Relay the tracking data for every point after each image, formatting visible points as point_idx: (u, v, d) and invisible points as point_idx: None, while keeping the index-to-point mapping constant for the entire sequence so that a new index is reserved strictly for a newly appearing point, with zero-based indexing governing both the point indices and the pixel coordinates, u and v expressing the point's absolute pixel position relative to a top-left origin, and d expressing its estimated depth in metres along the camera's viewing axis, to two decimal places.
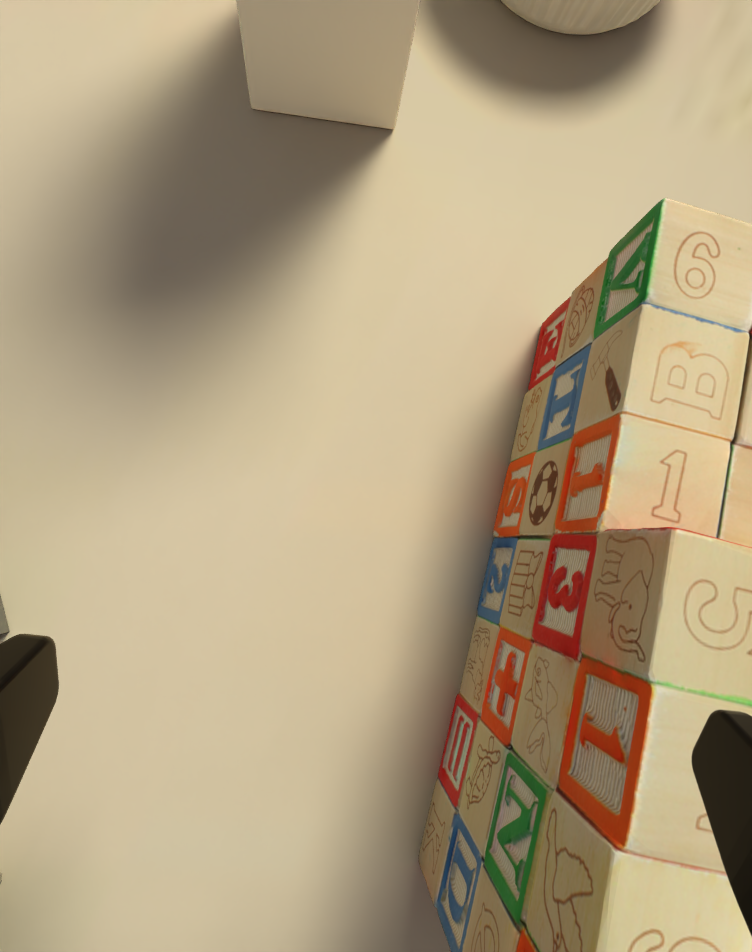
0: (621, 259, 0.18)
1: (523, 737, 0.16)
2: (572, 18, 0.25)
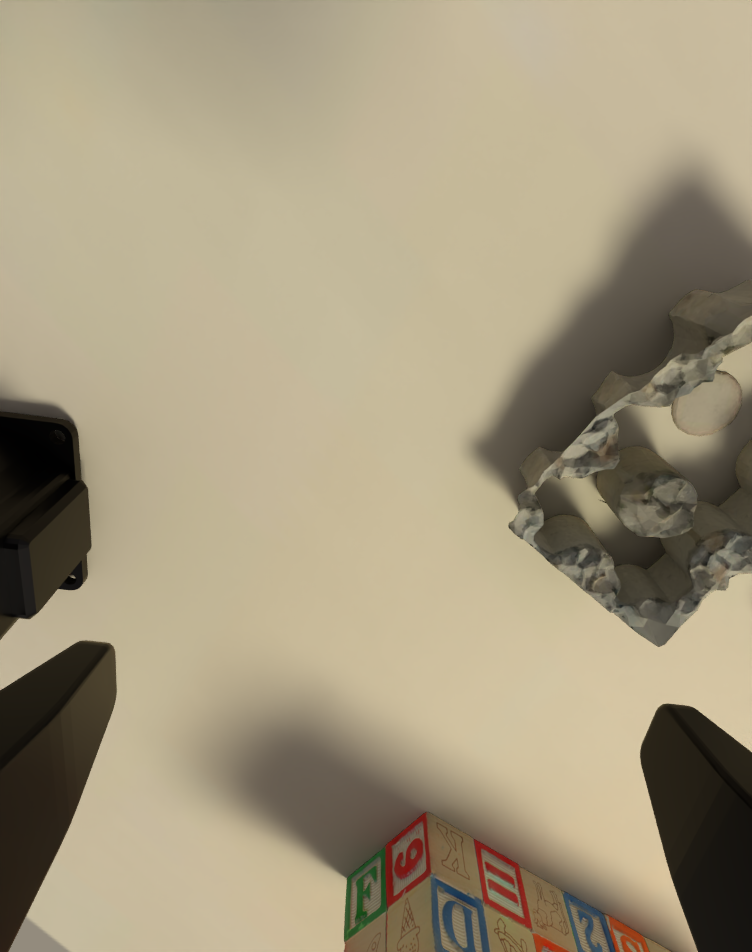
0: None
1: None
2: None
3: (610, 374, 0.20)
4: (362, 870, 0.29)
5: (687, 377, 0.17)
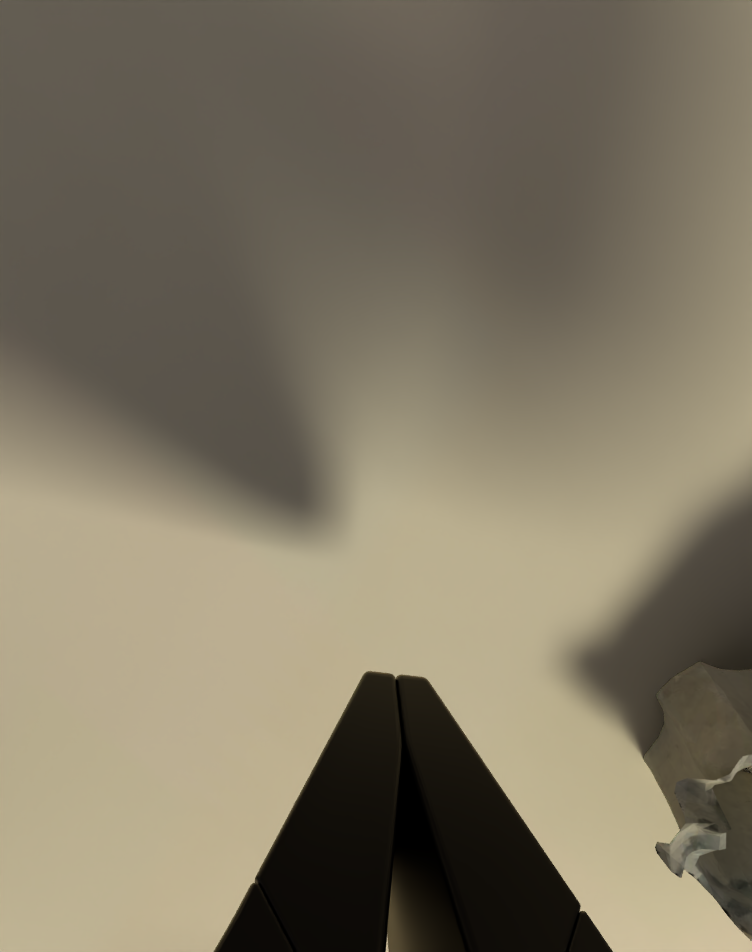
0: None
1: None
2: None
3: None
4: None
5: None
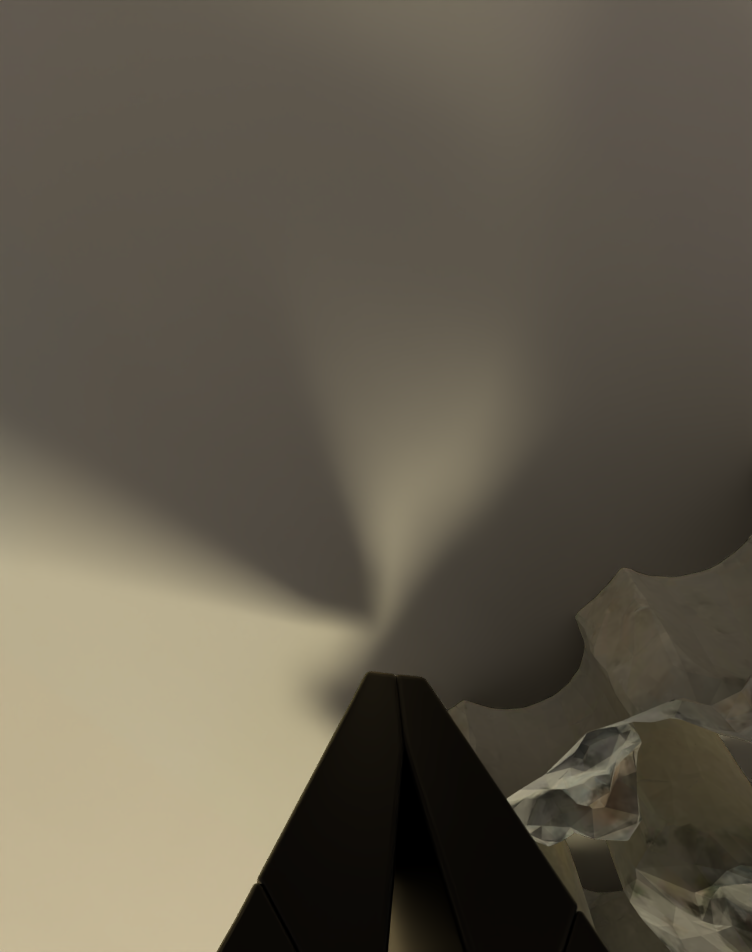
0: None
1: None
2: None
3: (623, 578, 0.09)
4: None
5: None
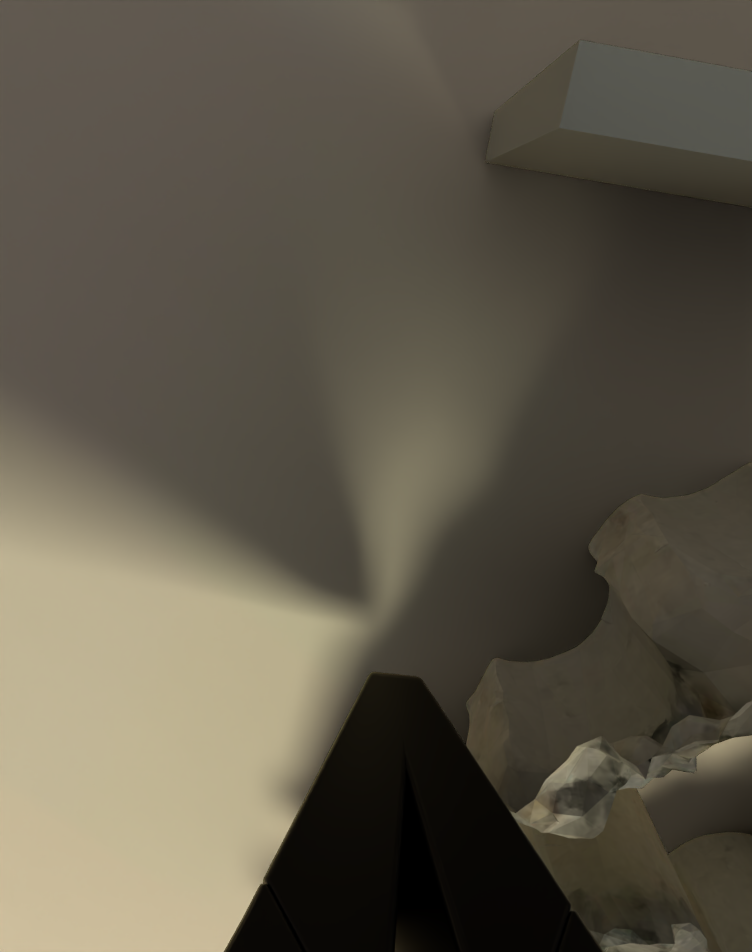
0: None
1: None
2: None
3: (491, 668, 0.10)
4: None
5: None
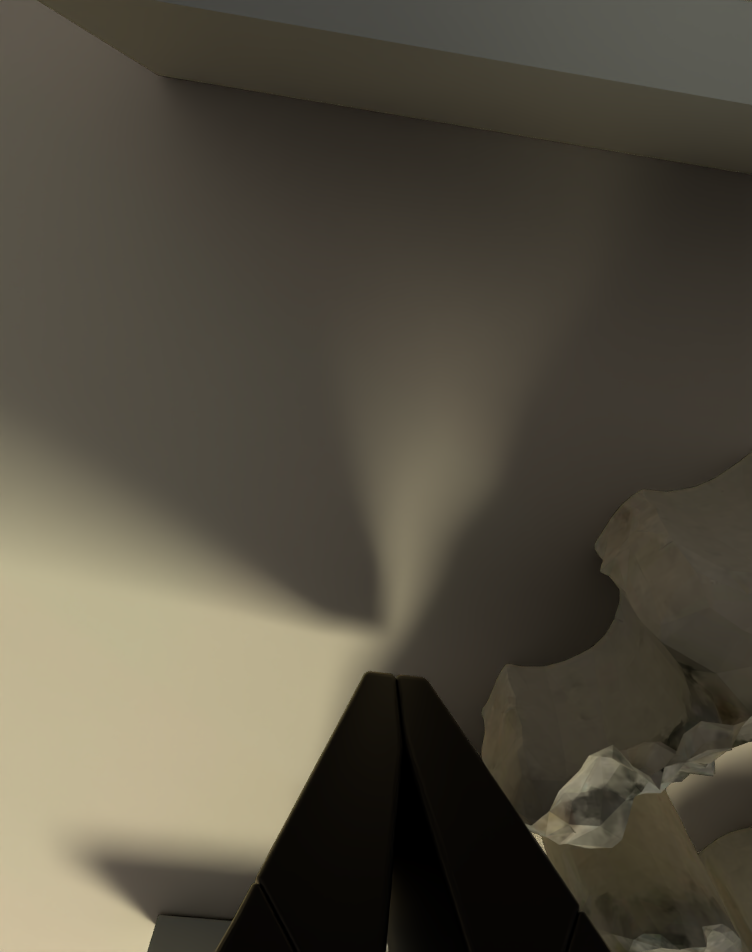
0: None
1: None
2: None
3: (503, 673, 0.09)
4: None
5: None
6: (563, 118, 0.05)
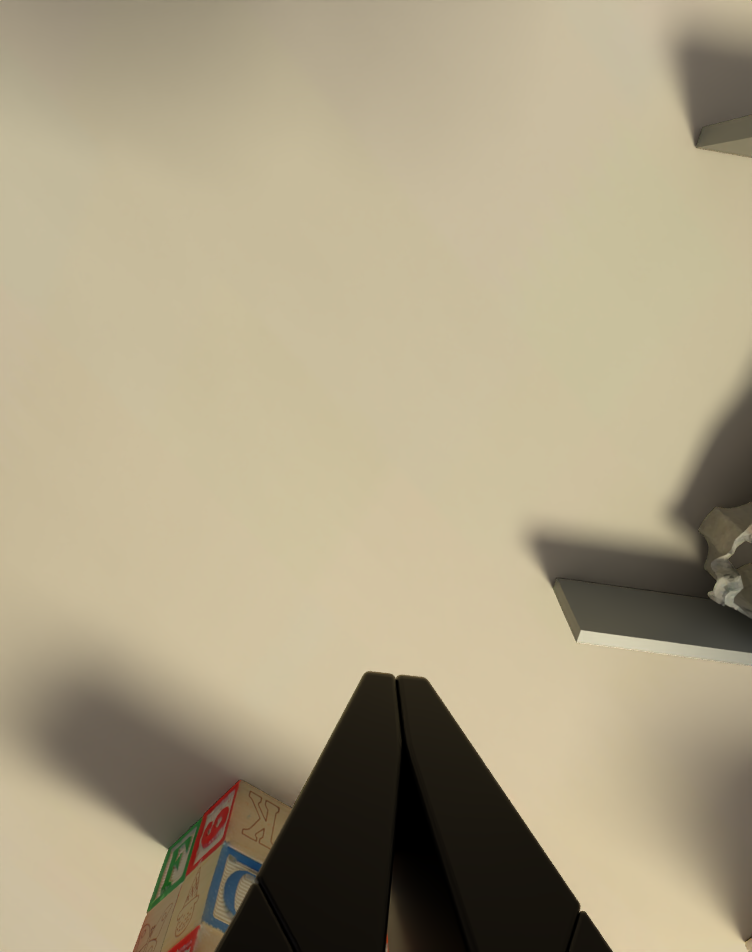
0: None
1: None
2: None
3: None
4: (180, 840, 0.28)
5: None
6: None
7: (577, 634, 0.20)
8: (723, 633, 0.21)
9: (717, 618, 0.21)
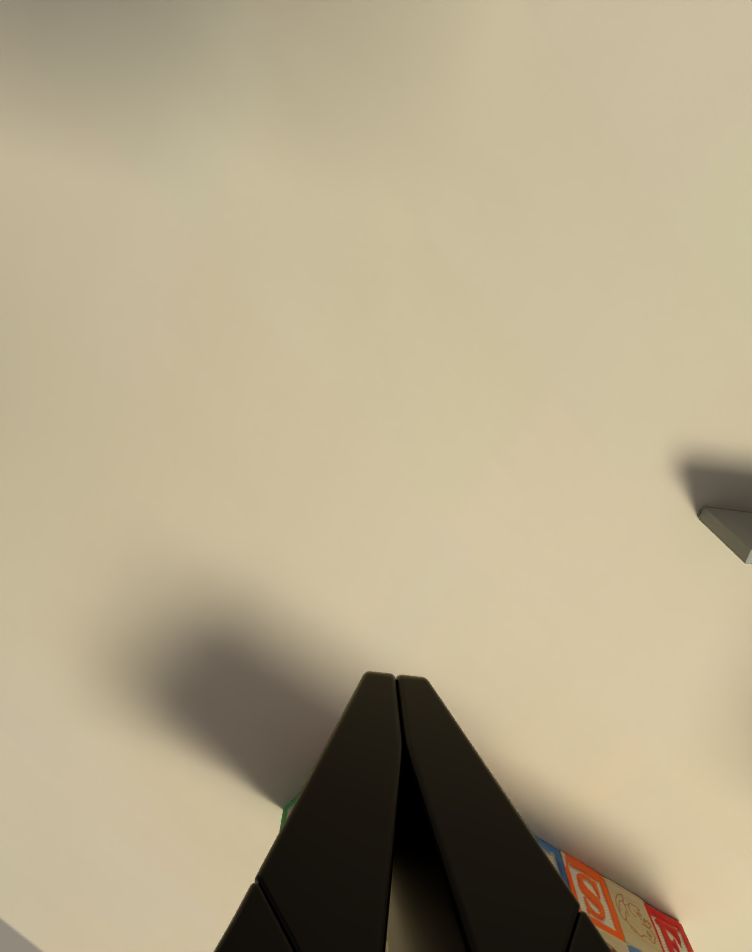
0: None
1: None
2: None
3: None
4: None
5: None
6: None
7: (746, 555, 0.19)
8: None
9: None
